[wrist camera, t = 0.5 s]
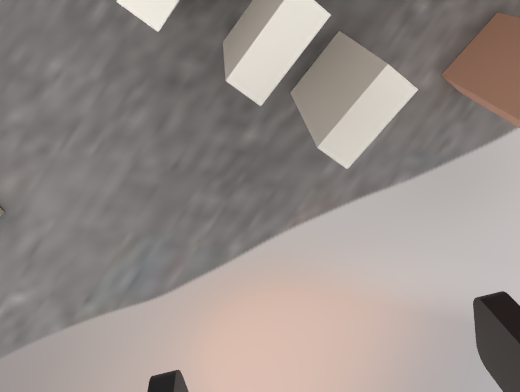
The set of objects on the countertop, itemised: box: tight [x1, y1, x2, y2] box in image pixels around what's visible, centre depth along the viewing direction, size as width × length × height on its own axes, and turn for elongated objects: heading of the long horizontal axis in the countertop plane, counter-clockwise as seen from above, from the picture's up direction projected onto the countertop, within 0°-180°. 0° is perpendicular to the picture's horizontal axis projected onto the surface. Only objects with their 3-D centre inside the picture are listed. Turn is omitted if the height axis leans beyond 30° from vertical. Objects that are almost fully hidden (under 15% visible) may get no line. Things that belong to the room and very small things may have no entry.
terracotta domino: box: [441, 12, 520, 128], centre depth 28 cm, size 2×5×10 cm, turn 142°
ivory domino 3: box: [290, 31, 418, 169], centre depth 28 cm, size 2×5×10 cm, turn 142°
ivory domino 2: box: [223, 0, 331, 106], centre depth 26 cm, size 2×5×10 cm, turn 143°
